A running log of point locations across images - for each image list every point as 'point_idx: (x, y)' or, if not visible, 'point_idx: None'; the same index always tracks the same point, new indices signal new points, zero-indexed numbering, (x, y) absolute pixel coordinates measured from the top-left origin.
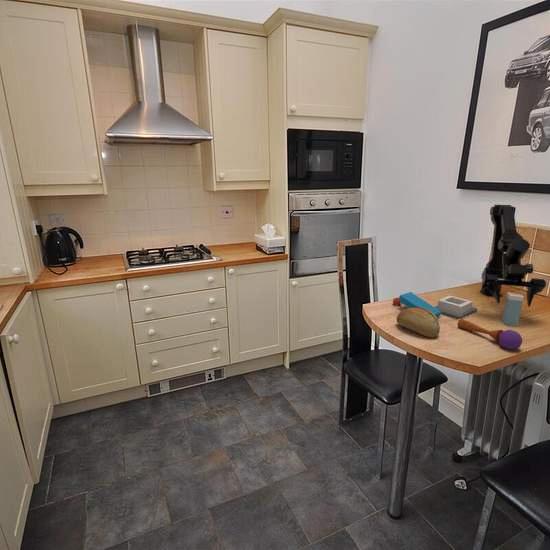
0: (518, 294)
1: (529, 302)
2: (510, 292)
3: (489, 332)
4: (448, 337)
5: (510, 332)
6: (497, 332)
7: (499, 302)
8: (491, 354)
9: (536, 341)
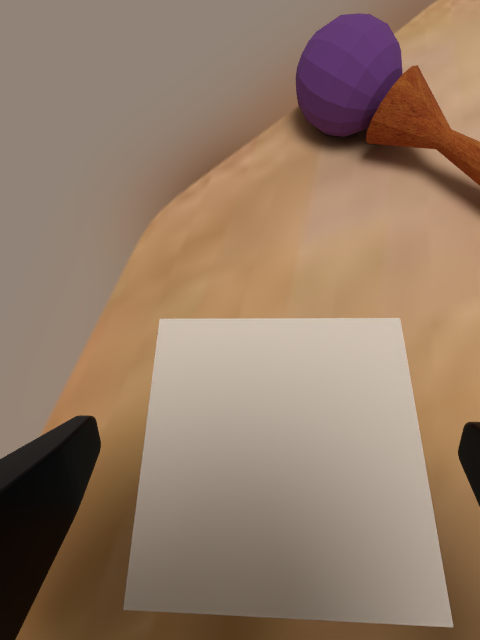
0: (208, 470)
1: (66, 434)
2: (368, 600)
3: (445, 121)
4: None
5: (367, 15)
6: (418, 68)
7: (465, 425)
8: (411, 56)
9: (187, 222)
